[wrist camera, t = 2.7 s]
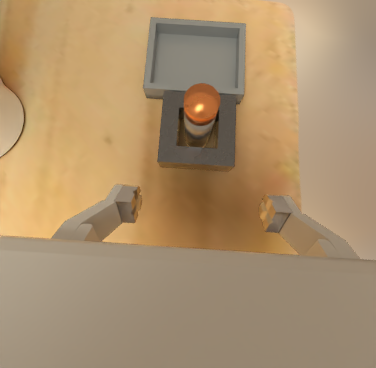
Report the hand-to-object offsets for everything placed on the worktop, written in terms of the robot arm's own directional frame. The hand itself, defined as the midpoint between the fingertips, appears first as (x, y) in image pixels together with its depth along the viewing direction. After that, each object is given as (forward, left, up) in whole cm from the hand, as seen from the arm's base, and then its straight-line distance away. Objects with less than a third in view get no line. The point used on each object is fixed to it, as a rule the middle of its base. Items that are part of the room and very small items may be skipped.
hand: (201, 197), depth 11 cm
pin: (0, +11, -16) cm, 19 cm away
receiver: (0, +11, -16) cm, 19 cm away
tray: (-1, +24, -16) cm, 29 cm away
